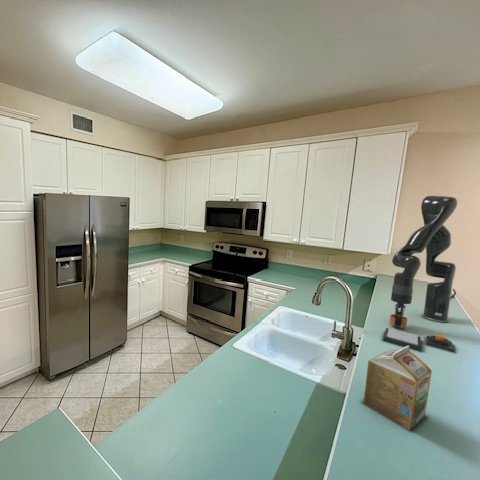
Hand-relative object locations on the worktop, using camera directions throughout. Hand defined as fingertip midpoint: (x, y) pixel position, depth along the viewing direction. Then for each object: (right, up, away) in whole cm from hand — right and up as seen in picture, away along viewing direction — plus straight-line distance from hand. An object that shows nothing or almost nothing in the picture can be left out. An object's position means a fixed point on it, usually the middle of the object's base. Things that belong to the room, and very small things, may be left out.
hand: (397, 323), depth 129 cm
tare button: (+3, -1, -17) cm, 17 cm away
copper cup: (0, -1, 0) cm, 1 cm away
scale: (-11, -3, -13) cm, 18 cm away
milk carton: (-54, -7, -55) cm, 77 cm away
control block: (+3, -4, -16) cm, 17 cm away
